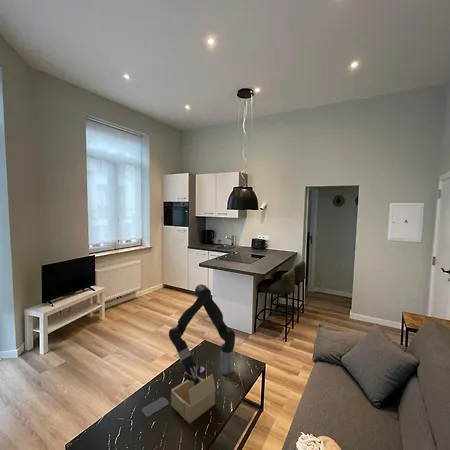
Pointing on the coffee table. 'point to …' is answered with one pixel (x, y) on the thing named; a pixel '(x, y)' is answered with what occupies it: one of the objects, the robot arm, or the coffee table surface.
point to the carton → (182, 401)
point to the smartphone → (155, 406)
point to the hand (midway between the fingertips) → (198, 385)
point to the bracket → (200, 370)
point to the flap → (201, 390)
